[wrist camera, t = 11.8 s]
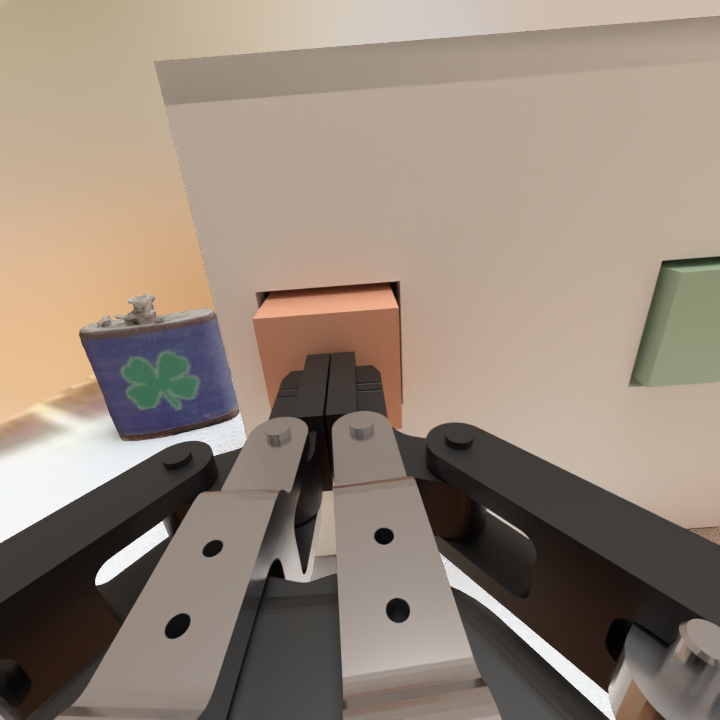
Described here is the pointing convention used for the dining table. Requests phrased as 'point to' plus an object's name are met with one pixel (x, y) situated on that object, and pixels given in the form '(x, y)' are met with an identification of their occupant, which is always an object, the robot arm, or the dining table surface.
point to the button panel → (478, 228)
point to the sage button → (682, 325)
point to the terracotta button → (332, 334)
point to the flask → (161, 370)
